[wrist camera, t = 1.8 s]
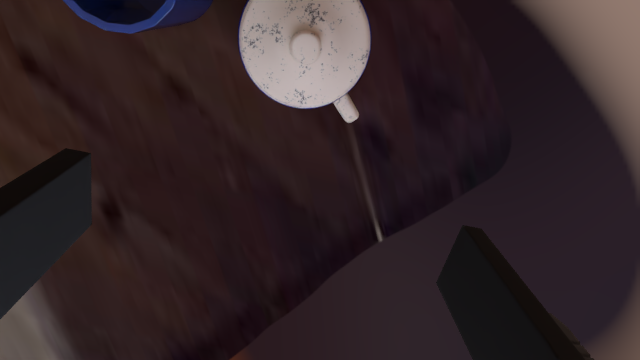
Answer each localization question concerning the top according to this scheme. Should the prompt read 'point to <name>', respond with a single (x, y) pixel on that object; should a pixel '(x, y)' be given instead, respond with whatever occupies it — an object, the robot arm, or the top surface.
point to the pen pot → (138, 13)
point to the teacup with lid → (306, 50)
